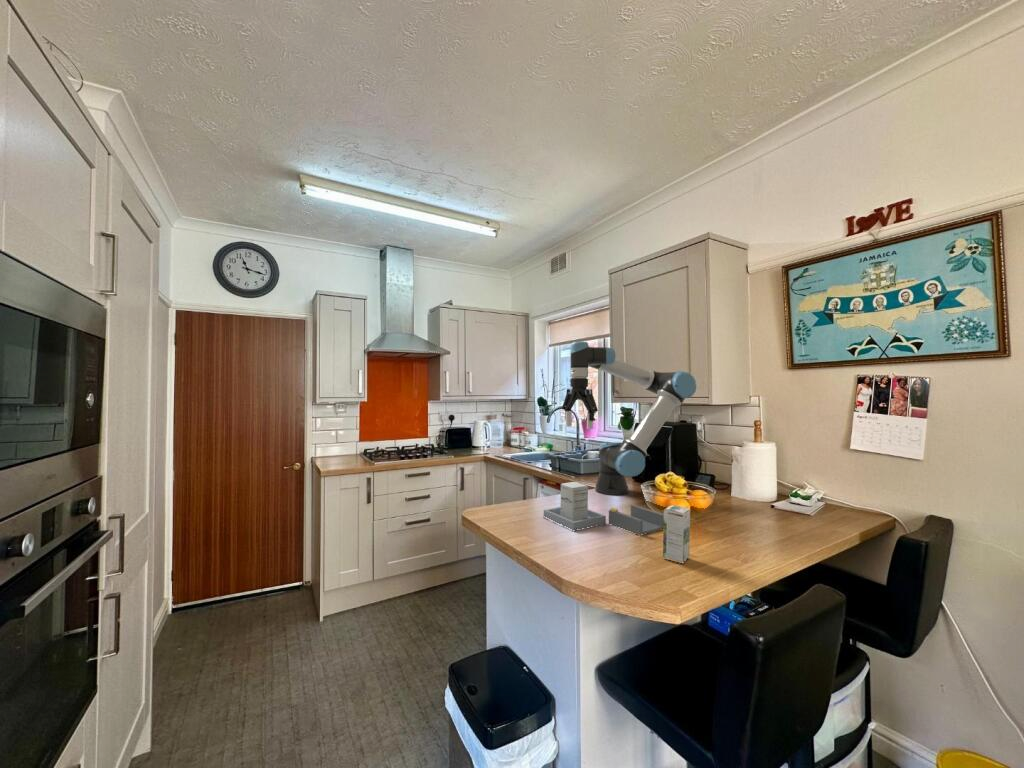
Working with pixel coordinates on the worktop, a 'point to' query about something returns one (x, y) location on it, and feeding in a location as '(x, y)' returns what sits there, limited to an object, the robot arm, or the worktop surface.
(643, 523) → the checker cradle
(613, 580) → the worktop surface
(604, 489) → the robot arm
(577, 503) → the supplement box
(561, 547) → the worktop surface
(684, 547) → the syrup box
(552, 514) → the tray
